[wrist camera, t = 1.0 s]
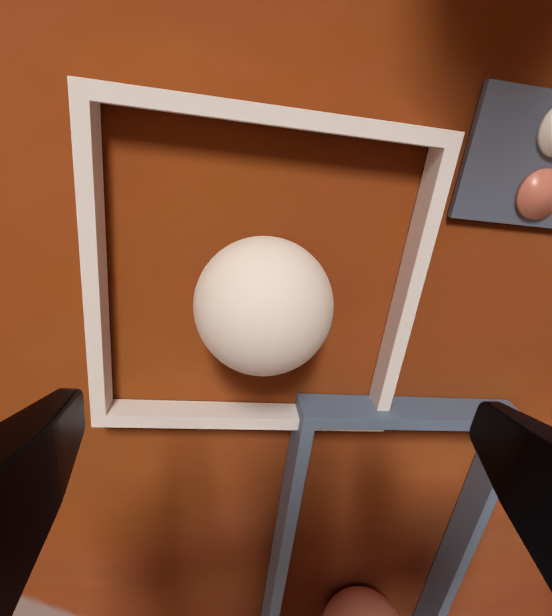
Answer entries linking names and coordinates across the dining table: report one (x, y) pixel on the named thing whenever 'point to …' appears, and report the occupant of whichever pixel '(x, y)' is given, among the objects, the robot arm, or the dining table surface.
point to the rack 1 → (93, 92)
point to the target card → (508, 158)
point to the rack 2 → (401, 416)
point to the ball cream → (263, 306)
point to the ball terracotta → (359, 603)
